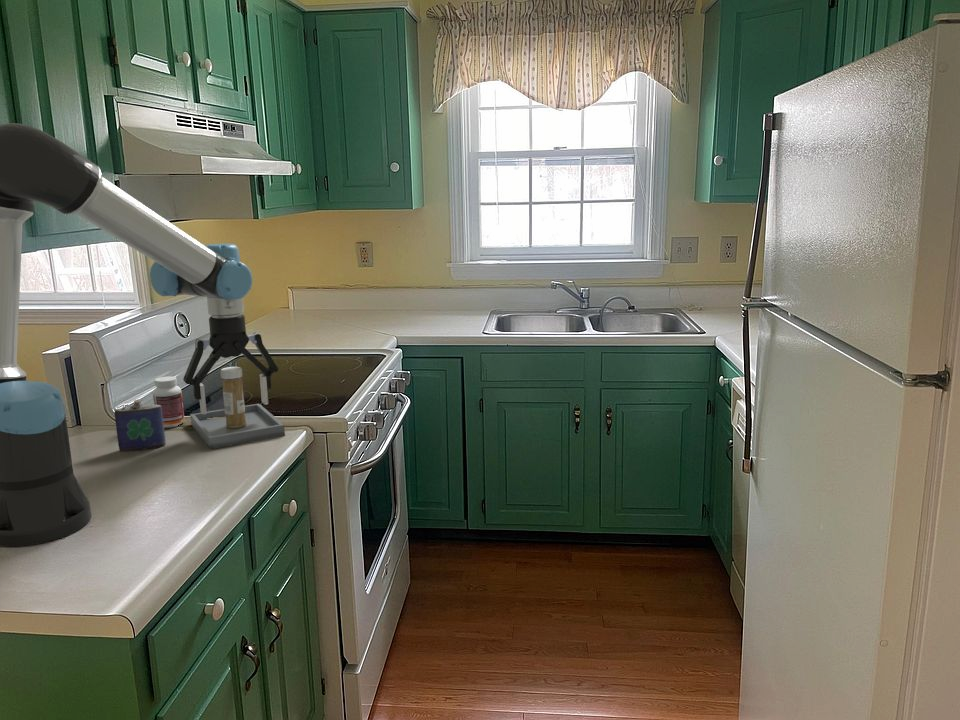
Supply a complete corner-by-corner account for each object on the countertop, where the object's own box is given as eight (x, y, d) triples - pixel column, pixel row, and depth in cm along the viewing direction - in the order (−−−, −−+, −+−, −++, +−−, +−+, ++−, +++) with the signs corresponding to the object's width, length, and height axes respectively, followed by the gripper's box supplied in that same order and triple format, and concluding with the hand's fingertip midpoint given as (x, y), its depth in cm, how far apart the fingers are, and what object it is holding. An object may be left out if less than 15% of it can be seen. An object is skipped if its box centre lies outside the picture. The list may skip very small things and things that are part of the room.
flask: (166, 443, 164) (160, 395, 162) (166, 447, 162) (160, 399, 159) (119, 449, 161) (113, 400, 158) (118, 453, 158) (112, 404, 156)
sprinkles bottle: (249, 426, 171) (244, 369, 168) (228, 430, 169) (223, 371, 166) (243, 421, 175) (238, 365, 172) (223, 425, 173) (217, 367, 169)
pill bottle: (190, 422, 178) (185, 377, 175) (167, 430, 173) (162, 383, 170) (173, 418, 181) (168, 374, 179) (150, 425, 176) (145, 380, 174)
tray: (210, 449, 160) (209, 438, 159) (191, 424, 177) (190, 414, 176) (285, 435, 168) (284, 424, 167) (259, 413, 185) (259, 403, 184)
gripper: (169, 323, 157) (179, 421, 162) (287, 311, 169) (294, 403, 174) (163, 318, 163) (173, 412, 168) (277, 307, 176) (284, 395, 180)
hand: (234, 408), depth 171 cm, fingers open, 13 cm apart
